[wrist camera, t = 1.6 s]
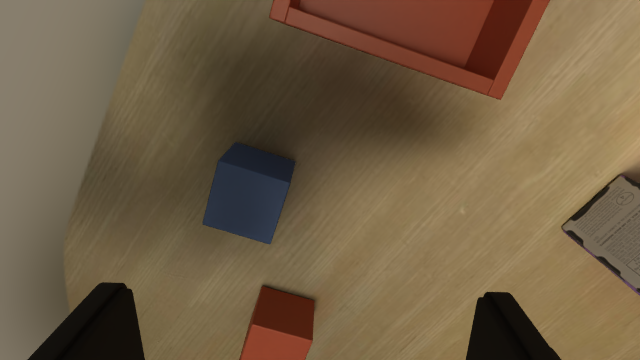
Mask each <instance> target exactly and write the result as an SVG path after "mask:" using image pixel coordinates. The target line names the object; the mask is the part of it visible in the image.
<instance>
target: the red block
mask: <svg viewBox="0 0 640 360" xmlns="http://www.w3.org/2000/svg"><path fill="white" fill-rule="evenodd" d="M313 321H314V301H313V300H309V299H306V298H302V297H299V296H295V295H292V294H288V293H285V292H281V291H278V290H274V289H271V288H267V287H264V286H262V287H261V290H260V293H259V297H258V300H257V303H256V306H255V309H254V312H253V315H252V318H251V321H250V324H249V327H248V330H247V334H246V337H245V341H244V345H243V348H242V352H241V356H240V359H239V360H305V358H306V356H307V353H308V351H309V348H310V346H311V344H312V341H313Z"/></svg>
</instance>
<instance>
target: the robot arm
mask: <svg viewBox="0 0 640 360" xmlns="http://www.w3.org/2000/svg"><path fill="white" fill-rule="evenodd" d="M28 360H145V358H144V352H143V347H142V341H141V335H140V330H139V324H138V319H137V313H136V308H135V302H134V297H133V292H132V290H131V289H127V287H126V285H125V284H124V283H104V282H103V283H100V284H98V285H97V286H96V287H95V288H94V289H93V290H92V291H91V293H90V294H89V295H88V296H87V297H86V298H85V299H84V300H83V301H82V302H81V303H80V304H79V305H78V306H77V307H76V308H75V310H74V311H73V312H72V313H71V314H70V315H69V316H68V317H67V318H66V319H65V320H64V321H63V322H62V323H61V324H60V326H59V327H58V328H57V329H56V330H55V331H54V332H53V333H52V334H51V335H50V336H49V337H48V338H47V339H46V341H45V342H44V343H43V344H42V345H41V346H40V347H39V348H38V349H37V350H36V351H35V352H34V353H33V354H32V355H31V356H30V358H29V359H28ZM466 360H561V359H560V357H559V356H558V355H557V353H556V352H555V351H554V350H553V349H552V348H551V347H549V345H548V344H547V343H546V341H545V340H544V338H543V337H542V336H541V334H540V333H539V332H538V330H537V329H536V327H535V326H534V325H533V323H532V322H531V321H530V319H529V318H528V317H527V315H526V314H525V312H524V311H523V310H522V308H521V307H520V306H519V304H518V303H517V301H516V300H515V299H514V297H513V296H512V295H511V294H510V293H508V292H486V293H485V294H484V297H480V298H478V300H477V304H476V310H475V315H474V320H473V325H472V330H471V335H470V341H469V346H468V351H467V356H466Z"/></svg>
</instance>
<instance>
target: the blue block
mask: <svg viewBox="0 0 640 360" xmlns="http://www.w3.org/2000/svg"><path fill="white" fill-rule="evenodd" d="M295 163H296V161H293V160H290V159H287V158H284V157H281V156H278V155H275V154H272V153H268V152H265V151H262V150H259V149H256V148H253V147H250V146H247V145H243V144H240V143H237V142H235V143H234V144H233V145H232V146H231V147H230V148H229V149H228V151H227V152H226V153H225V154H224V155H223V156H222V157H221V158H220V159H219V160H218V163H217V167H216V171H215V175H214V179H213V183H212V187H211V191H210V195H209V199H208V203H207V207H206V211H205V215H204V219H203V225H206V226H210V227H213V228H216V229H220V230H223V231H226V232H230V233H233V234H237V235H240V236H243V237H247V238H250V239H253V240H257V241H260V242H263V243H267V244H271V241H272V238H273V235H274V232H275V229H276V226H277V223H278V220H279V217H280V213H281V210H282V207H283V204H284V201H285V198H286V195H287V192H288V189H289V186H290V183H291V179H292V175H293V171H294V167H295Z"/></svg>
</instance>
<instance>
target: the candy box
mask: <svg viewBox="0 0 640 360" xmlns="http://www.w3.org/2000/svg"><path fill="white" fill-rule="evenodd" d="M562 228H563V231H564V233H566V234H567V235H568V236H569V237H570V238H571V239H573V240H574V241H575V242H576V243H577V244H579V245H580V246H581V247H583V248H584V249H585V250H586V251H587V252H589V253H590V254H591V255H592V256H593V257H595V258H596V259H597V260H598V261H599V262H601V263H602V264H603V265H604V266H605V267H607V268H608V269H609V270H610V271H611V272H612V273H614V274H615V275H616V276H617V277H618V278H620V279H621V280H622V281H623V282H624V283H625V284H627V285H628V286H629V287H630V288H631V289H633V290H634V291H635V292H636V293H637V294H638V295H640V183H638V182H636V181H634V180H632V179H629V178H627V177H625V176H623V175H620V176H619V177H618V178H617V179H616V180H614V181H613V182H612V183H611V184H610V185H609V186H607V187H606V188H605V189H604V190H603V191H602V192H600V193H599V194H598V195H597V196H596V197H595V198H594V199H593V200H592V201H591V202H590V203H588V204H587V205H586V206H585V207H584V208H583V209H581V210H580V211H579V212H578V213H577V214H576V215H575V216H573V217H572V218H571V219H570V220H569V221H568V222H567V223H566V224H565V225H563V227H562Z"/></svg>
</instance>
